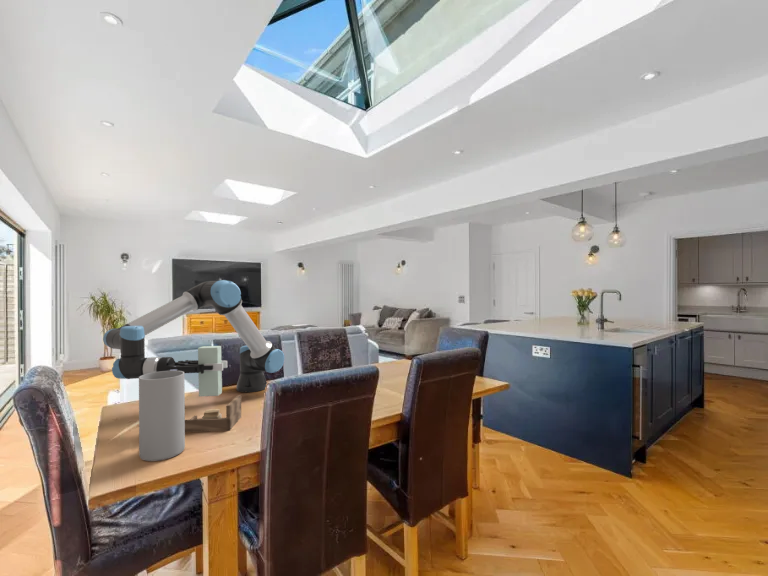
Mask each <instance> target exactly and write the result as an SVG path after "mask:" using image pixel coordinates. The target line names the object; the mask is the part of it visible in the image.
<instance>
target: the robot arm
mask: <svg viewBox="0 0 768 576" xmlns="http://www.w3.org/2000/svg"><path fill="white" fill-rule="evenodd" d="M241 295H242V292H241V289H240V287H239V286H238V285H237V283H234V281H231V280H226V279H223V280H222V279H220V280H207V281H203V282H201V283H199V284H197V285H195V286H193V287H191V288H189V289H188V290H186V291H185V290H184V292H183V293H182V295H181V296H179V297H177V298H175V299H173V300H171V301H169V302H167V303H165V304H163V305H161V306H159V307H157V308H156V309H153V310H151V311H150V312H149V311H148V312H147V313H145V314H143V315H141V316H140V317H138V318H135V319H134V320H132V321H129V322H128V323H125V324H124V325H121V326H119V327H118V328H111V329H109V330H107V331H105V333H104V335H103V338H102V341H103V342H102V343H103V344H104V345H105V346H107V347H109V349H113V350H114V349H115V350H120V357H119V358H118V359H116V360H115V361H114V362H113V363H112V368H111V373H112V375H113V377H114V378H116V379H120V380H133V379H139V377H140V376H142V375H144V374H148V373H153V372H160V371H183V372H184V374H198V373H199V372H201V374H203V373H204V371H224V369H227V368H228V360H221V362H222V363H208V364H204V365H203V364H198V359H196V360H195V359H194V360H193V359H192V360H191V359H190V360H189V359H185V360H177V361H175V358H174V357H172V356H162V357H161V356H158V357H157V356H156V357H153V356H152V357H146V352H145V344H146V343H145V342H146V341H145V338H146V335H148V334H150V333H153V332H155V331H156V330H158V329H161V327H163V326H165V325H168V323H171V322H173V321H174V320H176V319H178V318H180V317H182V316H184V315H185V314H187V313H189V312H191V311H194V312H195V311H197V310H199V309H202V308H205V307H213V308H214V309H215V311H216V312H217V314H218V315H220V316H224V317H225V318H226V320H227V321H228V322H229V323H230V325H231V327H233V329H234V330H235V332H236V333H237V334H238V335H239V337H240V338H241V340H242V341H243V342H244V344H245V345H242V346H241V347H240V348H239V377H238V381H237V383H236V391H237V392H241V393H254V392H255V393H256V392H261V391H264V390H266V389H265V387H266V384H267V385H268V383H267V379H266V376H265V374H264V373H269V374H271V373H273V374H275V373H277V372H278V371H280V370H281V369H282V368H283V366H284V363H285V354H284V351H282V350H281V349H279V348H276V347H275V345H274V344H273V343H272V341H270V340H266V337H264V335H263V334H262V333H261V331H260V330H259V329H258V327H257V325H256V324H255V322H254V321H253V320H252V318H251V317H250V315H249V314H248V313H247V311H246V310H245V308H244V307H243V305H242V303H243V300H242V296H241Z"/></svg>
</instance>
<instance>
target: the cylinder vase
mask: <svg viewBox="0 0 768 576" xmlns="http://www.w3.org/2000/svg"><path fill="white" fill-rule="evenodd" d="M185 392H186V390H185V373H184V372H183V371H160V372H153V373H148V374H144V375H142V376H140V377H139V378H138V430H139V431H138V432H139V433H138V439H139V440H138V441H139V442H138V443H139V445H138V450H139V452H138V455H139V458H140V459H141V460H142V461H146V462H158V461H165V460H168V459H172V458H174V457H176V456H179V455H180V454H181V453H182V452H183V451H184V450H185V447H186V437H185V436H186V432H185V420H186V419H185V418H186V417H185V415H186V413H185V410H186V409H185V408H186V407H185V406H186V405H185V403H186V401H185V394H186V393H185Z"/></svg>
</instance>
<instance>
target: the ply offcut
mask: <svg viewBox="0 0 768 576" xmlns="http://www.w3.org/2000/svg"><path fill="white" fill-rule="evenodd" d="M201 418H202V419H221V418H223V417H222V413H219V415H218V416H216V417H204V415H203V416H202V417H201Z"/></svg>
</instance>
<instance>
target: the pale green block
mask: <svg viewBox="0 0 768 576" xmlns="http://www.w3.org/2000/svg"><path fill="white" fill-rule="evenodd" d="M197 360H198V364H203V365H204V364H208V363H222V362H221V361H222V345H208V346H207V345H206V346H204V345H203V346H199V347H198V348H197ZM197 374H198V376H197V377H198V397H219V396H220V395H221V394H222V393H223V377H222V376H223V375H222V374H223V372H222V371H204V373H203V374H201V372H199V373H197Z"/></svg>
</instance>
